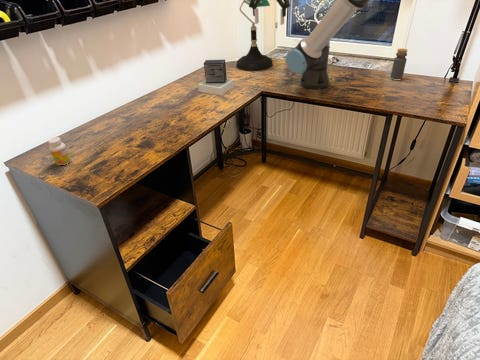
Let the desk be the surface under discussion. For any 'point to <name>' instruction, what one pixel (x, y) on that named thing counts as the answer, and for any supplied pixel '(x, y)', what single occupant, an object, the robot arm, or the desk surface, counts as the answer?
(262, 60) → the banker's lamp
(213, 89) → the base
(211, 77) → the small box
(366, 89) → the desk surface
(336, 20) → the robot arm
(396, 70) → the bottle
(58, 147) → the supplement bottle
